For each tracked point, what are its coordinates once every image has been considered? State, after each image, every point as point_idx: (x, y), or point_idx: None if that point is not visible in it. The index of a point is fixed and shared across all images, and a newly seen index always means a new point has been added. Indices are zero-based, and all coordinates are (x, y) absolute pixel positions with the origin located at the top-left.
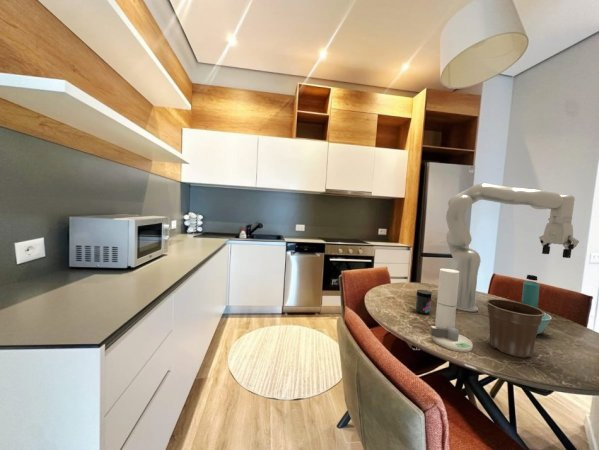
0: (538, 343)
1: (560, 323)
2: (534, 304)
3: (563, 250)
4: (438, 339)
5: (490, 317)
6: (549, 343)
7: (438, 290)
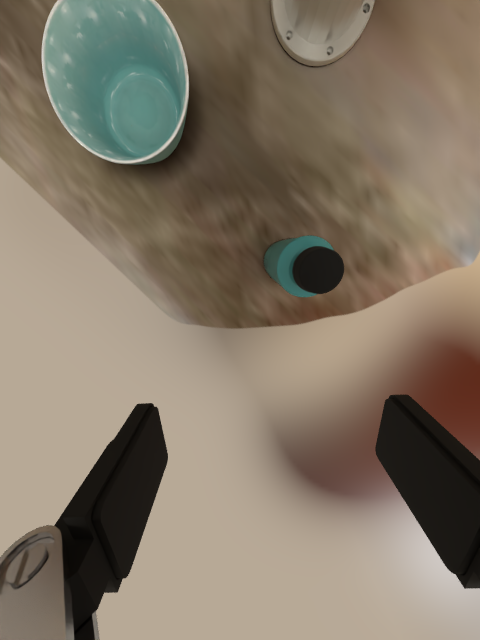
0: None
1: (220, 293)
2: (266, 259)
3: (104, 485)
4: None
5: None
6: None
7: None
